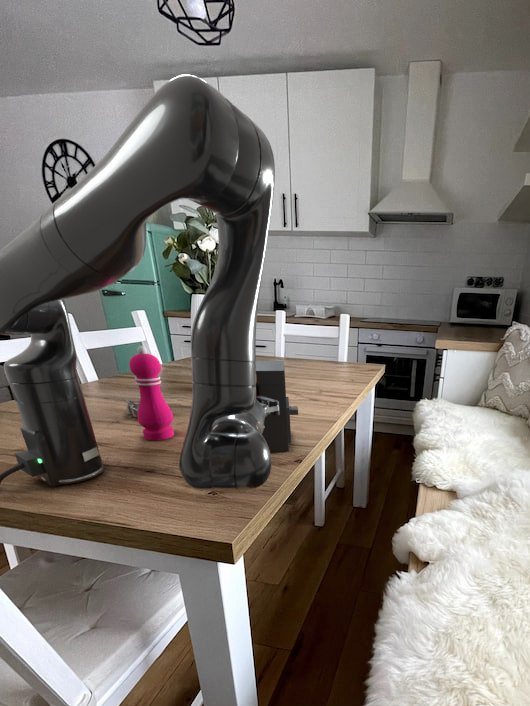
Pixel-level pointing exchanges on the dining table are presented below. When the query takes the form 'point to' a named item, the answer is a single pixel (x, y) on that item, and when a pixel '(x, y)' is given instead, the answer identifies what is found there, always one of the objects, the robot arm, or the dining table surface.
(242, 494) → the dining table surface
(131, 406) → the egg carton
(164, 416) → the pepper mill
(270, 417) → the grey button box
